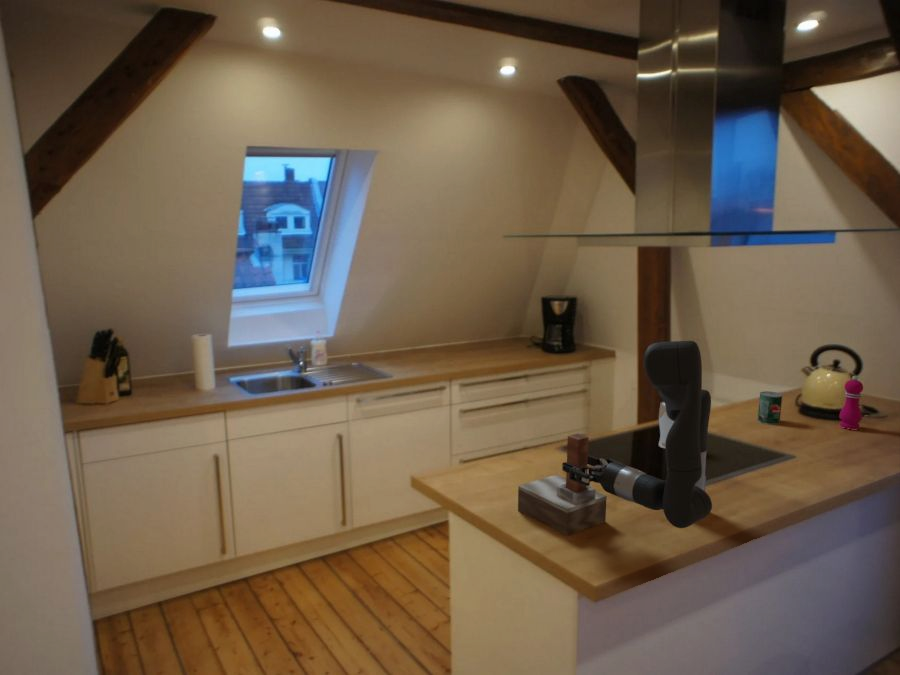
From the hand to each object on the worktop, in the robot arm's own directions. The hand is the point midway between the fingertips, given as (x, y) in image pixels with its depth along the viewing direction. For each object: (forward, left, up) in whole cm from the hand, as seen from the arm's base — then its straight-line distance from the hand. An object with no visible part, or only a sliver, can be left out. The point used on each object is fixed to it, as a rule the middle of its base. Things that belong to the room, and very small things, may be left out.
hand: (575, 462), depth 170 cm
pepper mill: (-144, +2, -16) cm, 145 cm away
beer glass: (-70, -24, -16) cm, 76 cm away
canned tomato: (-127, -20, -16) cm, 130 cm away
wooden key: (0, 0, -9) cm, 9 cm away
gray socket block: (0, -5, -16) cm, 17 cm away
